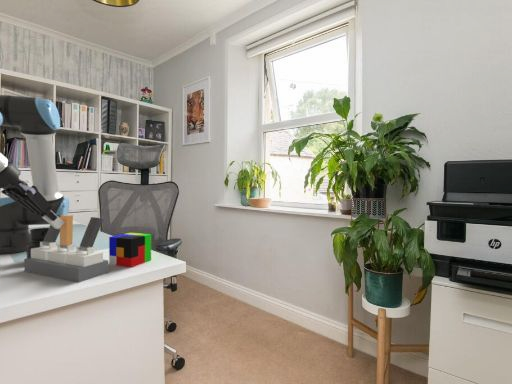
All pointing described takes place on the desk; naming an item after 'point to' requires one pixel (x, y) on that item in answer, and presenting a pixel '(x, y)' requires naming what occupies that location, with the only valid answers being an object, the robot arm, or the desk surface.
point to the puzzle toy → (129, 249)
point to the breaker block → (68, 256)
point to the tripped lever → (66, 231)
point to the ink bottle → (36, 239)
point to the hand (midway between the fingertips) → (60, 225)
